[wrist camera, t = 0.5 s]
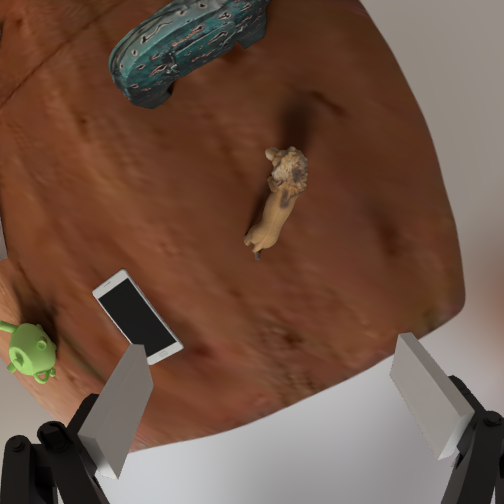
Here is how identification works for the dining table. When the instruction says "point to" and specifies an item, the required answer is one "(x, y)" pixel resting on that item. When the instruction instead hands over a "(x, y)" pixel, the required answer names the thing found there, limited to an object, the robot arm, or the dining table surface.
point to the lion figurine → (279, 196)
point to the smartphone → (136, 317)
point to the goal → (2, 244)
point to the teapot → (30, 350)
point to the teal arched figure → (181, 44)
